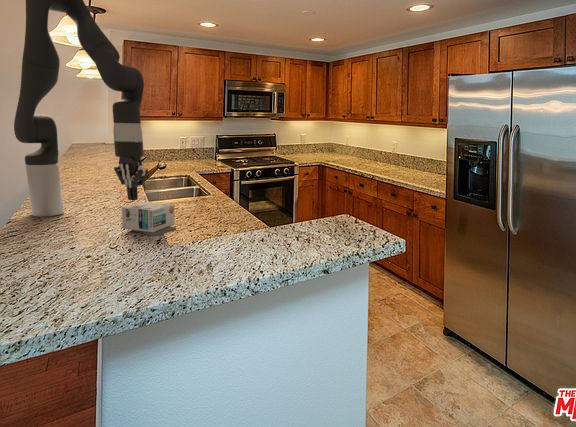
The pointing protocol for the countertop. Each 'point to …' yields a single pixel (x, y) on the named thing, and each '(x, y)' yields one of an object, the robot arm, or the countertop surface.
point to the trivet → (162, 231)
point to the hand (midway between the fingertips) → (132, 199)
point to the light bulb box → (148, 216)
